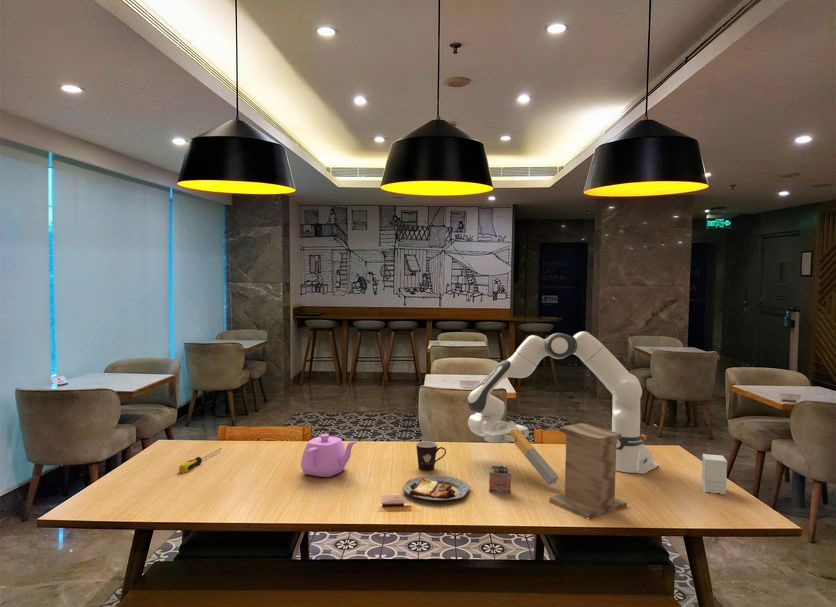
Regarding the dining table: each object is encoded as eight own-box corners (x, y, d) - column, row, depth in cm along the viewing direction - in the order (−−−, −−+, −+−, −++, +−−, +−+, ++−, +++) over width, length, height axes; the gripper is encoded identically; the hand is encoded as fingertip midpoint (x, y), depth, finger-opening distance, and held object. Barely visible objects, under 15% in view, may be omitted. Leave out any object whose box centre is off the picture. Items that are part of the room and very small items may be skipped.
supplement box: (722, 488, 214) (723, 455, 213) (726, 495, 207) (727, 461, 206) (701, 485, 216) (702, 453, 216) (704, 492, 209) (705, 458, 209)
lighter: (510, 490, 208) (511, 464, 207) (511, 494, 204) (511, 467, 204) (488, 489, 208) (489, 463, 208) (488, 493, 205) (489, 466, 205)
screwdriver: (185, 465, 220) (224, 444, 250) (177, 464, 221) (217, 444, 250) (185, 474, 220) (224, 452, 250) (177, 473, 221) (217, 451, 250)
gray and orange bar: (514, 434, 229) (517, 428, 228) (555, 483, 211) (558, 476, 210) (508, 436, 228) (511, 429, 226) (548, 485, 209) (552, 478, 208)
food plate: (457, 509, 190) (457, 499, 190) (393, 499, 198) (393, 489, 198) (475, 486, 213) (475, 477, 213) (418, 478, 221) (418, 469, 221)
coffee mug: (412, 470, 229) (413, 445, 228) (420, 463, 237) (420, 440, 236) (439, 474, 224) (439, 449, 224) (446, 467, 232) (447, 443, 232)
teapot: (288, 479, 216) (289, 440, 216) (317, 462, 236) (317, 427, 235) (341, 487, 208) (341, 447, 208) (366, 470, 228) (366, 433, 227)
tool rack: (587, 490, 209) (589, 421, 208) (626, 506, 194) (629, 432, 193) (549, 501, 198) (551, 428, 197) (587, 519, 184) (590, 440, 183)
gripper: (477, 426, 230) (500, 434, 219) (514, 420, 241) (538, 427, 230) (477, 441, 231) (499, 450, 219) (514, 435, 242) (537, 443, 230)
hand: (519, 438), depth 225 cm, fingers closed on gray and orange bar, 3 cm apart
